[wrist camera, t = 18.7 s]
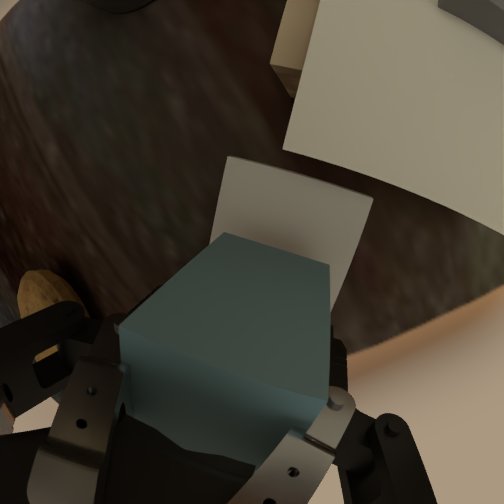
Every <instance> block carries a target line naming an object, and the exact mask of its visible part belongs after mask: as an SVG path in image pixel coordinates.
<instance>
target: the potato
mask: <svg viewBox="0 0 504 504" xmlns="http://www.w3.org/2000/svg"><path fill="white" fill-rule="evenodd" d="M17 300H18V306H19V310H20V315H21V319H22V318H24V317H26V316H28V315H31V314H33V313H35V312H37V311H40V310H42V309H44V308H46V307H49V306H51V305H53V304H56V303H58V302H61V301H75V302H77V303H79V304H81V305H82V306H83V308H84V310H85V317H89V318H90V316H89V313H88V311H87V309H86V307H85V305H84V303H83V302H82V300H81V299H80V298H79V296H78V295H77V293H76V292H75V291H74V289H73V288H72V287H71V285H70V284H69V283H68V282H66V281H65V280H64V279H63V278H61V277H60V276H58V275H56V274H55V273H53V272H51V271H50V270H41V269H39V270H32V271H27V272H26V274H25V275H24V276H23V277H22V279H21V282H20V287H19V291H18V296H17ZM56 351H58V350H57V346H56V345H55V346H53V347H51V348H49V349H47V350H45V351H44V352H42V353H40V354H38V355H37V356H35V359H36V361H37V362H38V361H40V360H41V359H43V358H45V357H47V356H49V355H51V354H53V353H54V352H56Z"/></svg>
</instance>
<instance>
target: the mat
mask: <svg viewBox="0 0 504 504" xmlns="http://www.w3.org/2000/svg"><path fill="white" fill-rule="evenodd" d="M372 202H373V198H372V197H371V196H369V195H366V194H363V193H360V192H357V191H354V190H351V189H348V188H345V187H342V186H339V185H336V184H333V183H330V182H326V181H323V180H320V179H317V178H313V177H310V176H307V175H303V174H300V173H296V172H293V171H289V170H286V169H282V168H278V167H275V166H271V165H267V164H263V163H260V162H256V161H252V160H248V159H244V158H240V157H235V156H228V157H227V162H226V166H225V171H224V175H223V180H222V185H221V189H220V194H219V199H218V204H217V208H216V213H215V218H214V223H213V228H212V233H211V239H210V244H211V243H212V242H213V241H214V240H215V239H216V238H218V237H219V236H220V235H221V234H222V233H223V232H226V233H229V234H233V235H236V236H239V237H242V238H246V239H249V240H252V241H255V242H259V243H262V244H265V245H268V246H271V247H275V248H278V249H281V250H284V251H287V252H291V253H294V254H297V255H300V256H303V257H307V258H310V259H313V260H316V261H319V262H322V263H326V264H329V265H330V312H331V310H332V308H333V305H334V303H335V301H336V298H337V296H338V294H339V291H340V289H341V286H342V284H343V281H344V279H345V276H346V274H347V271H348V269H349V266H350V264H351V261H352V258H353V256H354V253H355V250H356V248H357V245H358V242H359V240H360V237H361V234H362V231H363V228H364V226H365V223H366V220H367V217H368V214H369V211H370V208H371V205H372Z"/></svg>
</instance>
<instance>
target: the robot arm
mask: <svg viewBox="0 0 504 504" xmlns="http://www.w3.org/2000/svg"><path fill="white" fill-rule="evenodd" d="M80 1H82V2H85V3H87V4H90V5H92V6H97V7H99V8H102V9H104V10H106V11H109V12H111V13H118V14H119V13H127V12H130V11H133V10H136V9H138V8H140V7H142V6H144V5H146V4H148V3H149V2H151V1H153V0H80ZM163 285H164V284H163ZM163 285H160V286H158V287H157V288H155V289H154V290H153V291H152V292H151V294H149V295H147V296H146V298H144V299H143V300H142V301H141V302H140V303H138V304H137V305H136V306H135V307H134V308H133V309H132V310H131V311H130V312H128V313H115V314H111V315H109V316H108V317H106V318H105V319H104V321H103V320H98V319H94V318H89V317H85V310H84V308H83V306H82V305H81V304H79V303H77V302H75V301H61V302H58V303H56V304H53V305H51V306H49V307H46V308H44V309H42V310H40V311H37V312H35V313H33V314H31V315H28V316H26V317H24V318H22V319H20V320H17V321H15V322H13V323H11V324H8V325H6V326H4V327H2V328H0V504H307V503H308V502H309V500H310V499H311V497H312V495H313V494H314V492H315V491H316V489H317V487H318V486H319V484H320V483H321V481H322V479H323V478H324V476H325V474H326V472H327V471H328V469H329V467H330V465H331V464H334V465H336V466H338V472H339V478H340V483H341V488H342V493H343V499H344V504H437V501H436V498H435V495H434V492H433V489H432V486H431V484H430V481H429V478H428V475H427V473H426V470H425V467H424V464H423V462H422V459H421V456H420V454H419V451H418V449H417V446H416V444H415V441H414V439H413V436H412V434H411V431H410V429H409V426H408V425H407V423H406V422H405V421H404V420H403V419H402V418H401V417H399V416H397V415H395V414H390V413H385V414H382V415H380V416H379V417H378V418H377V419H374V418H372V417H370V416H368V415H366V414H364V413H362V412H360V411H359V410H357V409H356V404H355V401H354V399H353V397H352V396H351V395H350V394H349V393H348V378H347V360H346V359H347V353H346V348H345V346H344V344H343V342H342V341H341V340H339V339H335V338H333V325H330V367H329V390H328V402H327V403H326V405H325V406H324V408H323V409H322V411H321V412H320V414H319V415H318V417H317V418H316V420H315V421H314V422H313V424H312V425H311V427H310V428H309V430H308V429H304V428H300V427H296V426H293V428H291V429H290V430H289V432H288V433H287V434H286V436H285V437H284V438H283V439H282V441H281V442H280V443H279V445H278V446H277V447H276V448H275V450H274V451H273V452H272V453H271V454H270V456H269V457H268V458H267V459H266V461H265V462H264V463H263V464H262V465H261V466H260V468H259V469H258V470H257V471H256V472H255V473H254V471H255V467H256V466H255V465H252V464H248V463H245V462H242V461H238V460H235V459H232V458H229V457H226V456H223V455H216V454H209V453H202V452H196V451H190V450H186V449H183V448H182V447H180V446H179V445H177V444H176V443H174V442H173V441H172V440H170V439H169V438H168V437H166V436H165V435H163V434H162V433H161V432H159V431H158V430H157V429H156V428H154V427H151V426H149V425H147V424H145V423H143V422H141V421H139V420H137V419H135V418H134V415H135V414H134V407H133V406H132V405H131V395H130V382H131V365H130V364H128V363H126V362H124V361H122V360H121V355H120V338H119V325H120V324H121V323H122V322H123V321H124V320H125V319H126V318H127V317H129V316H130V315H131V314H132V313H133V312H134V311H135V310H136V309H137V308H138V307H139V306H141V305H142V304H143V303H144V302H145V301H146V300H147V299H148V298H149V297H150V296H152V295H153V294H154V293H155V292H156V291H157V290H158V289H159V288H160V287H162V286H163ZM55 345H56V346H57V350H58V351H56V352H54V353H53V354H51V355H49V356H47V357H45V358H43V359H41V360H40V361H38V362H36V363H34V364H32V362H33V359H34V358H35V356H37V355H38V354H40V353H42V352H44V351H45V350H47V349H49V348H51V347H53V346H55ZM65 387H66V389H65V391H64V394H63V396H62V399H61V401H60V404H59V407H58V409H57V412H56V415H55V417H54V420H53V423H52V426H51V427H48V428H42V429H37V430H31V431H25V432H18V433H12V432H13V425H14V422H15V418H16V417H18V416H20V415H21V414H23V413H24V412H26V411H28V410H29V409H31V408H33V407H34V406H36V405H38V404H39V403H41V402H43V401H44V400H46V399H47V398H49V397H51V396H52V395H54V394H56V393H57V392H59V391H60V390H62V389H64V388H65Z"/></svg>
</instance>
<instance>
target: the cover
mask: <svg viewBox="0 0 504 504" xmlns="http://www.w3.org/2000/svg"><path fill="white" fill-rule="evenodd" d="M283 150H287V151H291V152H294V153H298V154H302V155H305V156H309V157H312V158H315V159H319V160H322V161H325V162H329V163H332V164H335V165H338V166H341V167H344V168H347V169H350V170H353V171H356V172H359V173H362V174H365V175H368V176H371V177H374V178H376V179H379V180H382V181H385V182H387V183H390V184H393V185H395V186H398V187H400V188H403V189H405V190H408V191H410V192H413V193H415V194H418V195H420V196H423V197H425V198H427V199H430V200H432V201H434V202H437V203H439V204H441V205H444V206H446V207H448V208H450V209H452V210H455V211H457V212H459V213H461V214H463V215H465V216H467V217H469V218H472V219H474V220H476V221H478V222H480V223H482V224H484V225H486V226H488V227H490V228H491V229H493V230H495V231H497V232H499V233H501V234H503V235H504V0H320V3H319V7H318V11H317V15H316V19H315V23H314V27H313V31H312V35H311V39H310V43H309V47H308V51H307V55H306V59H305V63H304V67H303V70H302V74H301V78H300V82H299V86H298V90H297V94H296V98H295V102H294V106H293V110H292V114H291V118H290V121H289V125H288V129H287V133H286V137H285V141H284V145H283Z"/></svg>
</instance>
